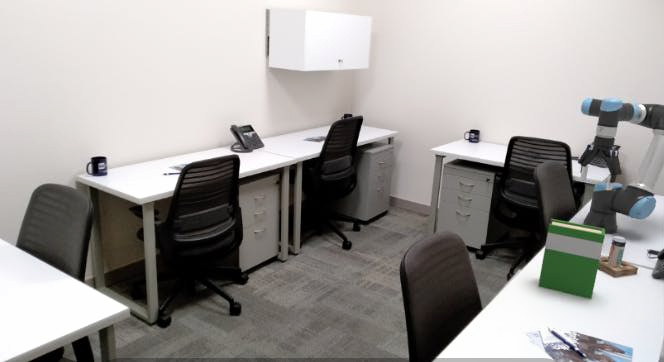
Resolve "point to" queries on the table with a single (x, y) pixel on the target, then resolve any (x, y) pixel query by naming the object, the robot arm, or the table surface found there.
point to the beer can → (616, 251)
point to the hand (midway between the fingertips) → (595, 185)
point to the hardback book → (571, 258)
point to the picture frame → (616, 272)
